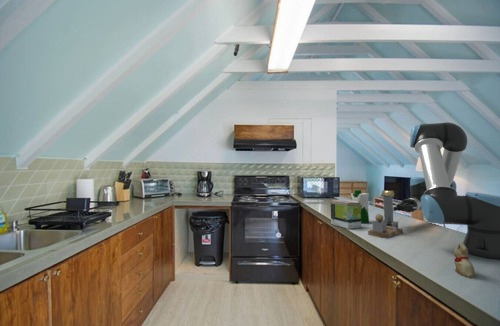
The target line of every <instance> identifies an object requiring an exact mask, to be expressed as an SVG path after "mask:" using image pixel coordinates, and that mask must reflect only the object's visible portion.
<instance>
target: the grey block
mask: <svg viewBox="0 0 500 326" xmlns="http://www.w3.org/2000/svg"><path fill="white" fill-rule="evenodd" d="M372 230H373V231H374V232H380V233H385V232H387V222H385V221H381V222H379V221H377V220H376V219H375V220H373V221H372Z"/></svg>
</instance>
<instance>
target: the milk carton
mask: <svg viewBox="0 0 500 326" xmlns="http://www.w3.org/2000/svg"><path fill="white" fill-rule="evenodd" d="M350 196H351V201H357V202H360V203H361V225H362V224H369V223H370V218H369V217H370V215H369V196H370V193H363V192H362V190H360V189H356V190H355V189H354V191H353V193H350Z"/></svg>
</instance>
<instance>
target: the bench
mask: <svg viewBox="0 0 500 326" xmlns="http://www.w3.org/2000/svg"><path fill="white" fill-rule="evenodd" d="M383 221H384V219H383ZM403 230H404V229H403V228H399V221H393V222H392V224H388V223H387V232H385V233H380V232H374V231H373V229H370V230H367V234H368V236H373V237H376V238H377V237H378V238H382V239H388V238H392V237H395V236H397V235H400V234H403V233H404V231H403Z"/></svg>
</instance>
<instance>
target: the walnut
mask: <svg viewBox="0 0 500 326" xmlns="http://www.w3.org/2000/svg"><path fill="white" fill-rule="evenodd" d="M374 219H375V221H376V220H377V221H379V222H381V221H383V220H384V215H382V214H380V213H378V214H376V215H375V218H374Z"/></svg>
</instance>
